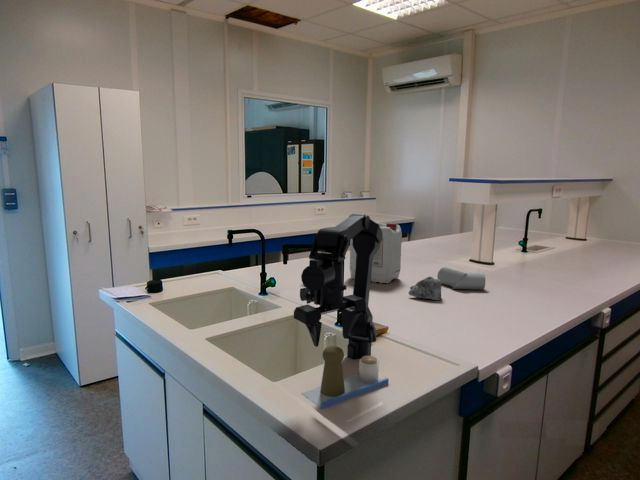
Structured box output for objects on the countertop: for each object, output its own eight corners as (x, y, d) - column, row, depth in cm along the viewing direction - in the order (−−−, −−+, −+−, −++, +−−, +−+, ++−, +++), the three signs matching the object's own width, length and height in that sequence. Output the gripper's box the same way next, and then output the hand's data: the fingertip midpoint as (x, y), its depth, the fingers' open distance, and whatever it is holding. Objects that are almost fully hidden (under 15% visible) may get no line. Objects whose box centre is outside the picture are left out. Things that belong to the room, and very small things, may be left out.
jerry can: (402, 278, 230) (404, 222, 226) (388, 285, 215) (390, 225, 210) (362, 272, 243) (363, 219, 239) (345, 279, 227) (347, 222, 223)
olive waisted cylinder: (330, 382, 111) (330, 341, 110) (349, 389, 108) (350, 347, 106) (315, 391, 107) (315, 348, 105) (335, 399, 103) (336, 355, 101)
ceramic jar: (369, 373, 117) (369, 353, 116) (382, 380, 113) (383, 359, 112) (354, 378, 114) (355, 357, 113) (368, 385, 110) (368, 364, 109)
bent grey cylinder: (442, 289, 205) (486, 290, 203) (442, 266, 206) (486, 267, 204) (435, 287, 223) (475, 289, 221) (436, 267, 224) (475, 268, 222)
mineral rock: (407, 297, 194) (408, 275, 193) (419, 293, 202) (420, 272, 200) (433, 303, 185) (434, 280, 184) (445, 298, 193) (446, 276, 192)
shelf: (365, 375, 118) (365, 366, 118) (388, 387, 111) (388, 378, 111) (301, 398, 106) (301, 388, 105) (322, 413, 99) (322, 403, 98)
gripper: (339, 269, 118) (338, 324, 120) (280, 279, 106) (281, 340, 109) (368, 277, 109) (366, 337, 111) (307, 289, 98) (307, 355, 100)
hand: (330, 341), depth 108 cm, fingers open, 9 cm apart
